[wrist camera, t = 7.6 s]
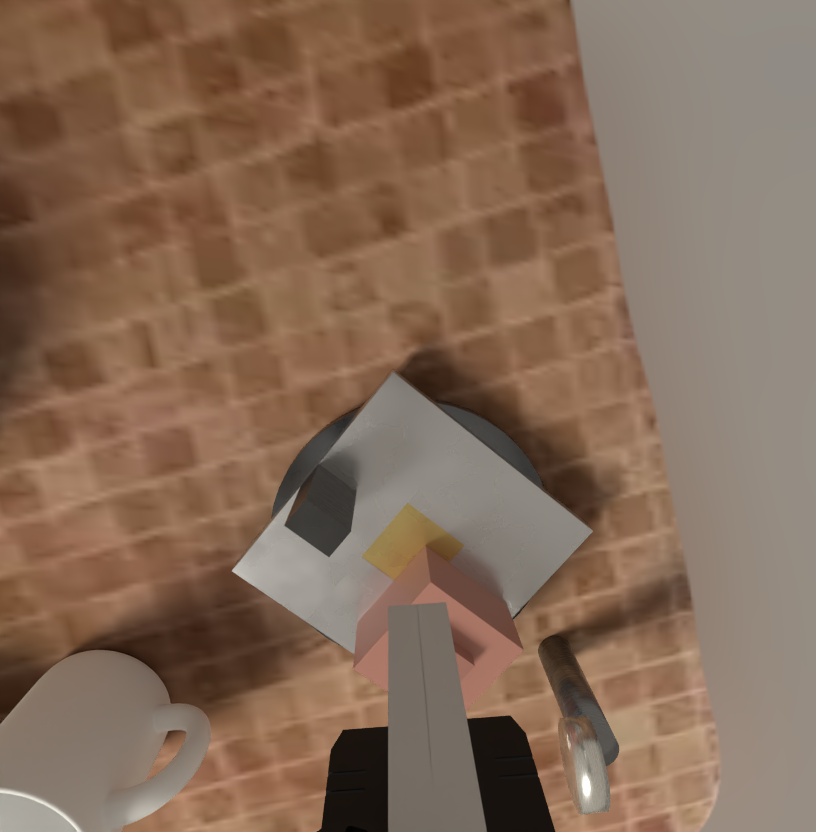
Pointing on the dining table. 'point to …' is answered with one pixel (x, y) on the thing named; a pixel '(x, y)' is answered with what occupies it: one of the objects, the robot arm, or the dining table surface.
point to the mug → (94, 747)
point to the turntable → (406, 516)
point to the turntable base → (465, 416)
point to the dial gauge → (579, 728)
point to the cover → (469, 620)
